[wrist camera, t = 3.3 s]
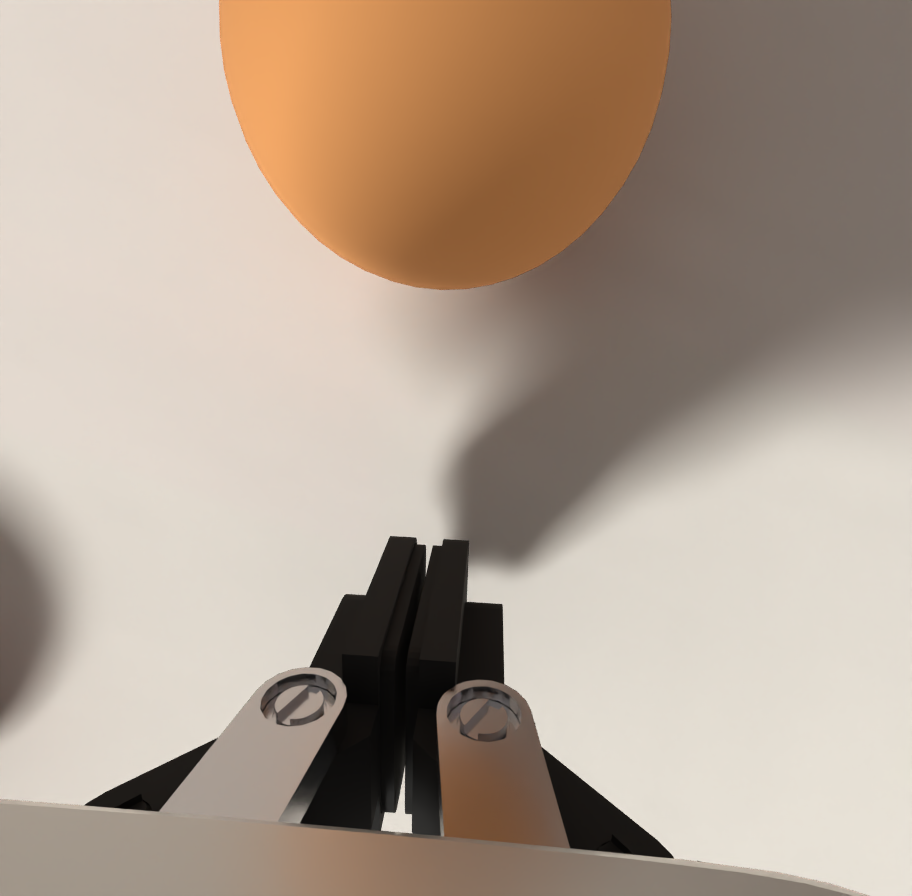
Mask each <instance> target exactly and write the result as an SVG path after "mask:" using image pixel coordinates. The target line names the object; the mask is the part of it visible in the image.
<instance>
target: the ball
mask: <svg viewBox="0 0 912 896" xmlns="http://www.w3.org/2000/svg"><path fill="white" fill-rule="evenodd" d="M219 15H220V42H221V49H222V57H223V65H224V71H225V76H226V80H227V84H228V88H229V92H230V96H231V100H232V104H233V106H234V109H235V112H236V115H237V117H238V120H239V123H240V126H241V129H242V131H243V134H244V137H245V140H246V142H247V144H248V146H249V148H250V150H251V152H252V154H253V156H254V158H255V160H256V162H257V165H258V167H259V169H260V170H261V172H262V173H263V175H264V176H265V178H266V180H267V181H268V183H269V184H270V186H271V187H272V189H273V190H274V192H275V194H276V195H277V196H278V197H279V198H280V200H281V201H282V202H283V203H284V205H285V206H286V207H287V208H288V209H289V211H290V212H291V213H292V214H293V215H294V217H295V218H296V219H297V220H298V221H299V222H300V223H301V224H302V225H303V226H304V227H305V228H306V229H307V230H308V231H309V232H310V233H311V234H312V235H313V236H314V237H315V238H316V239H317V240H318V241H319V242H321V243H322V244H324V245H325V246H326V247H328V248H329V249H330V250H332V251H333V252H334V253H336V254H337V255H338V256H340V257H341V258H343V259H345V260H347V261H348V262H350V263H352V264H354V265H356V266H357V267H359V268H361V269H363V270H365V271H367V272H370V273H373V274H375V275H378V276H380V277H383V278H385V279H388V280H390V281H393V282H397V283H401V284H405V285H410V286H414V287H419V288H429V289H439V290H450V289H469V288H475V287H480V286H486V285H492V284H495V283H498V282H501V281H504V280H507V279H511V278H514V277H516V276H519V275H521V274H523V273H525V272H527V271H529V270H531V269H534V268H536V267H538V266H540V265H541V264H543V263H544V262H546V261H548V260H549V259H551V258H552V257H554V256H555V255H557V254H559V253H560V252H562V251H563V250H564V249H565V248H566V247H568V246H569V245H570V244H571V243H573V242H574V241H575V240H576V239H577V238H579V237H580V236H581V235H582V234H583V233H584V232H585V231H586V230H587V229H588V228H589V227H590V226H591V225H592V224H593V223H594V222H595V220H596V219H597V218H598V217H599V216H600V215H601V214H602V213H603V212H604V210H605V209H606V208H607V206H608V205H609V204H610V202H611V201H612V200H613V198H614V197H615V195H616V194H617V193H618V191H619V190H620V189H621V187H622V186H623V185H624V183H625V181H626V179H627V178H628V176H629V174H630V172H631V171H632V169H633V167H634V165H635V164H636V162H637V160H638V158H639V156H640V154H641V152H642V149H643V147H644V145H645V142H646V140H647V138H648V135H649V133H650V131H651V128H652V125H653V121H654V118H655V115H656V111H657V108H658V105H659V101H660V98H661V94H662V89H663V84H664V79H665V73H666V67H667V62H668V56H669V48H670V32H671V0H219Z"/></svg>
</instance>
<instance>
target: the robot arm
mask: <svg viewBox="0 0 912 896" xmlns="http://www.w3.org/2000/svg"><path fill="white" fill-rule="evenodd" d="M468 556H469V541H464V540H447V539H444V540H443V544H442V546H434V545H433V548H432V552H431V556H430V560H429V565H428V569H427V573H426V545H417V539H416V538H413V537H396V536H390V538H389V540H388V543H387V545H386V547H385V550H384V552H383V555H382V557H381V560H380V562H379V565H378V567H377V569H376V572H375V574H374V577H373V579H372V582H371V584H370V586H369V589H368V591H367V594H366V595H353V594H346V595H344V597H343V599H342V601H341V603H340V605H339V607H338V609H337V611H336V613H335V615H334V617H333V619H332V621H331V623H330V626H329V628H328V630H327V632H326V634H325V636H324V638H323V640H322V642H321V644H320V646H319V649H318V651H317V653H316V655H315V657H314V659H313V661H312V663H311V665H310V667H305V668H297V669H291V670H288V671H286V672H283V673H280V674H277V675H276V676H274V677H272V678H271V679H269V680H267V681H266V682H265V683H264V684H263V685H261V686H260V687H259V688H258V689H257V690H256V691H255V693H254V694H253V695H252V696H251V698H250V699H249V700H248V701H247V703H246V704H245V705H244V706H243V708H242V709H241V710H240V711H239V713H238V714H237V715H236V716H235V718H234V719H233V720H232V721H231V723H230V724H229V725H228V726H227V728H226V729H225V730H224V731H223V733H222V734H221V735H220V736H219V737H218V738H216V739H214V740H212V741H210V742H208V743H206V744H204V745H202V746H200V747H198V748H196V749H194V750H192V751H190V752H188V753H185V754H183V755H181V756H179V757H177V758H175V759H173V760H171V761H169V762H167V763H165V764H163V765H161V766H159V767H157V768H154V769H152V770H150V771H148V772H146V773H144V774H142V775H140V776H138V777H136V778H134V779H132V780H130V781H128V782H126V783H124V784H121V785H119V786H117V787H115V788H113V789H111V790H109V791H107V792H105V793H103V794H102V795H100V796H98V797H97V798H95V799H93V800H92V801H90V802H88V803H87V804H85V805H84V806H83V805H71V804H58V803H45V802H32V801H20V800H7V799H0V896H869V895H866V894H862V893H859V892H856V891H853V890H849V889H846V888H843V887H840V886H836V885H833V884H830V883H826V882H821V881H817V880H812V879H807V878H802V877H798V876H793V875H788V874H784V873H779V872H773V871H765V870H758V869H750V868H743V867H736V866H728V865H721V864H713V863H706V862H700V861H691V860H684V859H674V857H673V856H672V855H671V854H670V853H669V851H668V850H667V849H666V848H665V847H664V846H663V845H662V844H661V843H660V842H659V841H658V840H656V839H655V838H654V837H653V836H651V835H650V834H649V833H648V832H646V831H645V830H644V829H643V828H641V827H640V826H639V825H638V824H636V823H635V822H634V821H633V820H632V819H630V818H629V817H628V816H627V815H625V814H624V813H623V812H622V811H620V810H619V809H618V808H617V807H615V806H614V805H613V804H612V803H610V802H609V801H608V800H607V799H605V798H604V797H603V796H602V795H600V794H599V793H598V792H597V791H596V790H594V789H593V788H592V787H591V786H589V785H588V784H587V783H586V782H584V781H583V780H582V779H581V778H579V777H578V776H577V775H576V774H574V773H573V772H572V771H571V770H569V769H568V768H567V767H566V766H564V765H563V764H562V763H561V762H560V761H558V760H557V759H556V758H555V757H553V756H552V755H551V754H550V753H548V752H547V751H546V750H545V749H543V748H542V747H541V744H540V740H539V737H538V733H537V730H536V726H535V723H534V719H533V716H532V712H531V709H530V707H529V705H528V703H527V701H526V700H525V699H524V698H523V697H522V696H521V695H520V694H519V693H518V692H517V691H516V690H514V689H512V688H510V687H509V686H507V685H505V684H504V651H503V606H502V604H491V603H476V602H467V580H468ZM404 768H405V814H412V833H413V834H411V833H400V832H389V831H381V827H382V822H383V817H384V813H385V812H392V813H395V812H396V810H397V805H398V800H399V794H400V789H401V784H402V778H403V773H404Z"/></svg>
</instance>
